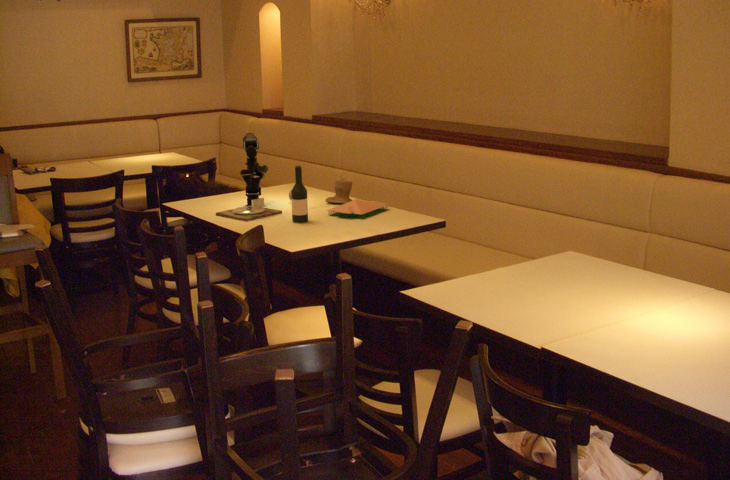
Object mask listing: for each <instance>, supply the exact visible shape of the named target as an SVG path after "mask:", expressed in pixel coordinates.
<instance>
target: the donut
mask: <svg viewBox="0 0 730 480" xmlns="http://www.w3.org/2000/svg"><path fill="white" fill-rule="evenodd" d="M292 189H293V187H291V188H290V189H289V191H288V197H289V200H290V202H292V197H291V190H292Z"/></svg>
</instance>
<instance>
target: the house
mask: <svg viewBox="0 0 730 480" xmlns="http://www.w3.org/2000/svg"><path fill="white" fill-rule="evenodd" d="M389 205H390V204H389V203H384V202H381V201H377V200H372V199H371V200H368V201H367V200H363V199H358V198H357V199H354V200H353V199H352V201H351V202H348V203H345V204H340V205H337V206H334V207H332V208H329V209H327V210H326V211H328V216H331V215H334V213H335V214H336V217H342V218H345V219H348V215H351V217H352V219H355V218H358V217H359V220H362V219H363V218H364V219H365V218H367V217H370V216H373V215H375V214H376V213H377V212H378V213H381V212H384V210H385V209H388V206H389Z"/></svg>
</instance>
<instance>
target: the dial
mask: <svg viewBox="0 0 730 480" xmlns="http://www.w3.org/2000/svg"><path fill="white" fill-rule="evenodd" d="M251 202H252V206H250V207H246V206H241V207H236V208H232V209H233V210H232V212H233V213H234V214H239V215H252V214H259V213H263V212H265V208H266V207H265V197H259V198H258V199H253V200H251Z"/></svg>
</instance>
